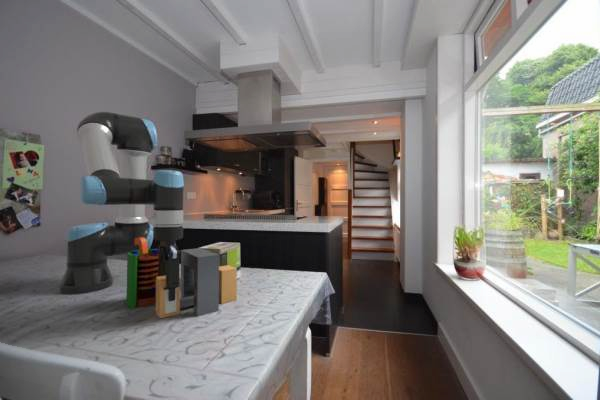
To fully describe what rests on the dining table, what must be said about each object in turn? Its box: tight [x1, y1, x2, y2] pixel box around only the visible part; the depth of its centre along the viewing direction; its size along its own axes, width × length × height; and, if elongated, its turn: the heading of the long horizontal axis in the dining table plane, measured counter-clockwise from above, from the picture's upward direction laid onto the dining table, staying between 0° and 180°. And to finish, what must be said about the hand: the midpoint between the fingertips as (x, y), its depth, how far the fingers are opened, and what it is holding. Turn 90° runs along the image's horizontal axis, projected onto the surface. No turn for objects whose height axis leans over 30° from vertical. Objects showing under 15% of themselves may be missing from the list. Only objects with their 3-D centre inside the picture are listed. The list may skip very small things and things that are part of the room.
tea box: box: [199, 241, 242, 280], centre depth 104 cm, size 15×10×15 cm, turn 163°
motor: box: [125, 237, 158, 309], centre depth 83 cm, size 10×9×20 cm
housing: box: [180, 247, 220, 317], centre depth 80 cm, size 15×6×16 cm, turn 40°
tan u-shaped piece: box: [155, 265, 238, 319], centre depth 80 cm, size 6×22×10 cm, turn 130°
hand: (167, 308), depth 74 cm, fingers closed on tan u-shaped piece, 5 cm apart
